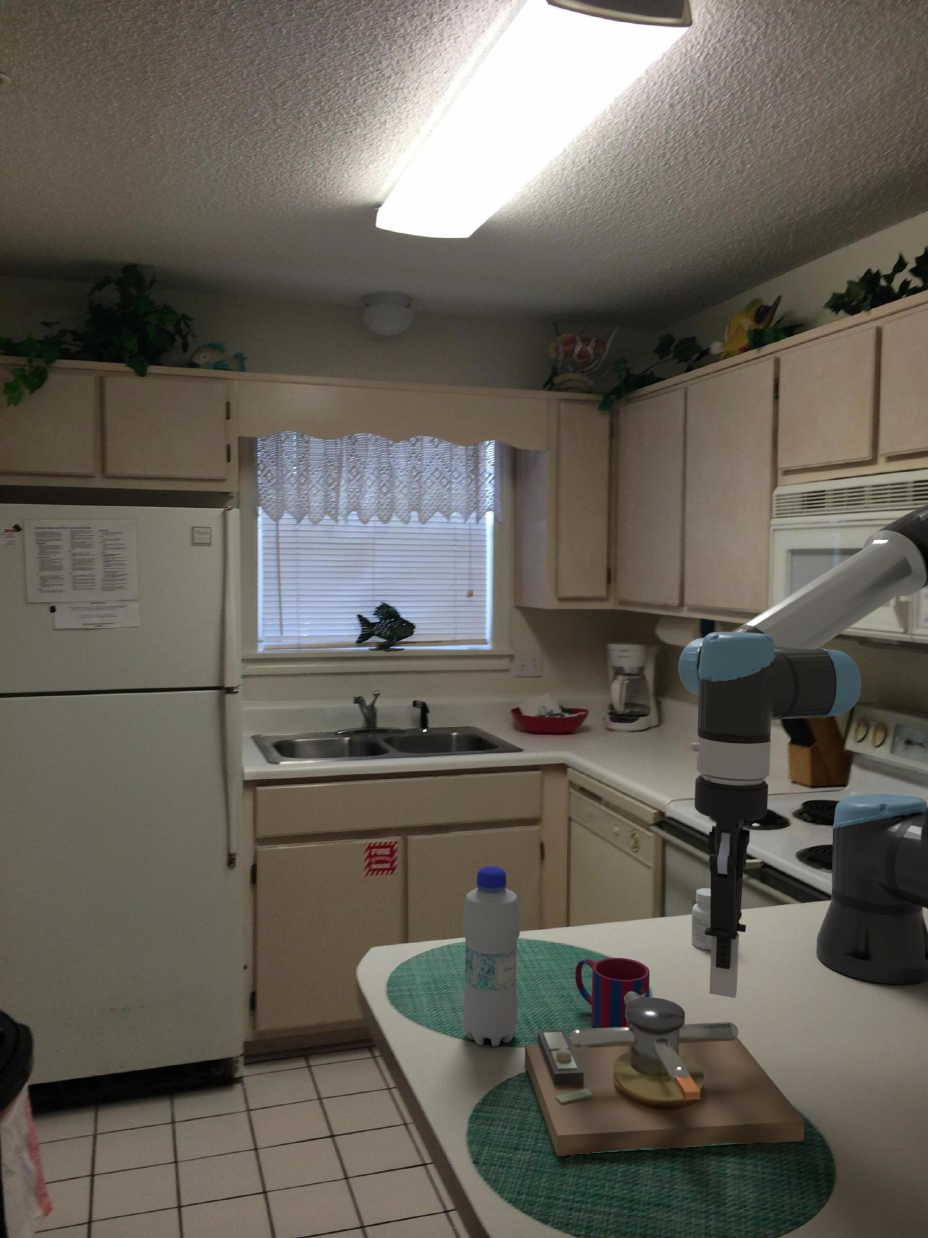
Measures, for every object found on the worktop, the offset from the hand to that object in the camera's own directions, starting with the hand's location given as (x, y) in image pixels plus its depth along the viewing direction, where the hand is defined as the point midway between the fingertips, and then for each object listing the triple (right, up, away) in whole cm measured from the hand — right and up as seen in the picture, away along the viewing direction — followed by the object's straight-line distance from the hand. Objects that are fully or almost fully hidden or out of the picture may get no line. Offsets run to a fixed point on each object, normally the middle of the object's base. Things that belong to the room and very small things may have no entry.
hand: (723, 993), depth 106 cm
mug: (-10, -8, +12) cm, 18 cm away
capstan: (-8, -7, -6) cm, 12 cm away
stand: (-8, -9, -5) cm, 13 cm away
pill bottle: (+7, -7, +35) cm, 37 cm away
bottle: (-25, -8, +7) cm, 27 cm away
